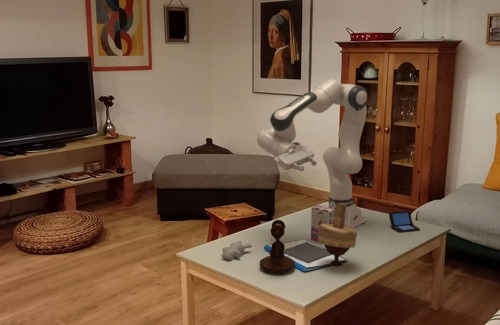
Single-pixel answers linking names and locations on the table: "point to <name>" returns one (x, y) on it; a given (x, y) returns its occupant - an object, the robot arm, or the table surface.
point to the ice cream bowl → (336, 254)
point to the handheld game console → (402, 222)
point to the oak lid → (337, 230)
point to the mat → (307, 252)
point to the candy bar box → (320, 219)
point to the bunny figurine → (234, 250)
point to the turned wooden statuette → (277, 252)
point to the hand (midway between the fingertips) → (309, 167)
